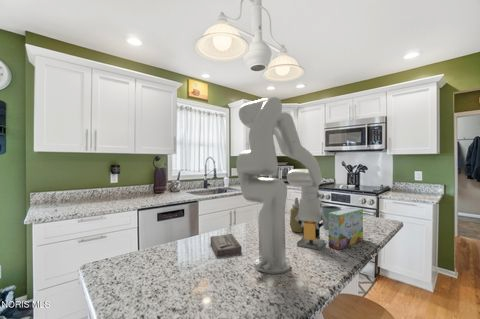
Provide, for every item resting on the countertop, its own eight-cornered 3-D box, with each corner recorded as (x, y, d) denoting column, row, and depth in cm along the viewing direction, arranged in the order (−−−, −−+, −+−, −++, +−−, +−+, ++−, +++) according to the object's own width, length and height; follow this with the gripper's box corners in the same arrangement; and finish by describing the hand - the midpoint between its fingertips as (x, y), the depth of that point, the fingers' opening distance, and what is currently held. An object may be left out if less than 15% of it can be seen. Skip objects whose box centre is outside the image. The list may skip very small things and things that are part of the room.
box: (231, 239, 111) (231, 233, 111) (242, 253, 95) (242, 246, 95) (209, 242, 108) (209, 236, 108) (216, 257, 92) (216, 250, 91)
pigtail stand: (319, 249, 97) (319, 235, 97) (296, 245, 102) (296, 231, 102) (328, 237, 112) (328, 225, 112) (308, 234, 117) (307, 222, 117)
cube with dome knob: (318, 237, 104) (317, 219, 105) (315, 240, 100) (314, 221, 100) (307, 235, 107) (306, 218, 107) (303, 238, 103) (303, 220, 103)
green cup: (322, 230, 125) (321, 208, 125) (321, 225, 134) (320, 205, 135) (342, 231, 122) (341, 209, 122) (340, 226, 131) (339, 205, 132)
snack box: (340, 250, 95) (339, 214, 96) (328, 247, 100) (327, 212, 100) (364, 240, 108) (363, 208, 108) (352, 237, 113) (351, 206, 113)
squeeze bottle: (306, 233, 120) (305, 198, 121) (291, 233, 120) (290, 199, 121) (302, 228, 128) (302, 196, 129) (288, 229, 128) (287, 196, 129)
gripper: (331, 196, 103) (332, 237, 102) (294, 194, 112) (295, 231, 111) (327, 198, 96) (328, 241, 96) (289, 196, 105) (290, 235, 105)
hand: (310, 235), depth 104 cm, fingers closed on cube with dome knob, 4 cm apart
